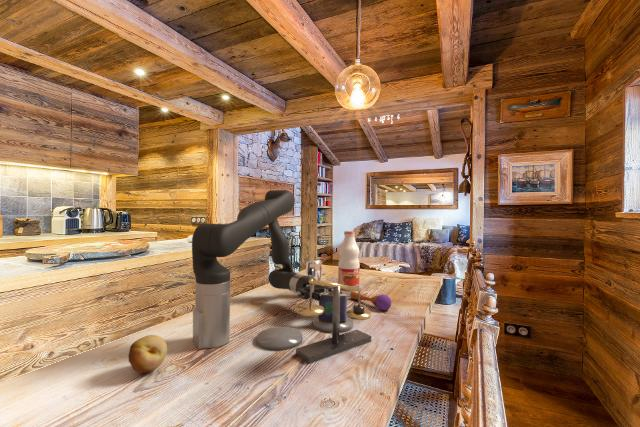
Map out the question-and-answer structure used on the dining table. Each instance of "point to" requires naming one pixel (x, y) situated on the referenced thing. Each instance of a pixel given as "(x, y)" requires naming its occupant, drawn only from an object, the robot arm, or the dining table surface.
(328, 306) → the flask
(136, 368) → the fruit
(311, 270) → the beer glass
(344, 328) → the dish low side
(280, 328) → the gray domed disc
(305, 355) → the balance
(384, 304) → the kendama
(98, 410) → the dining table surface
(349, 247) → the fruit juice
